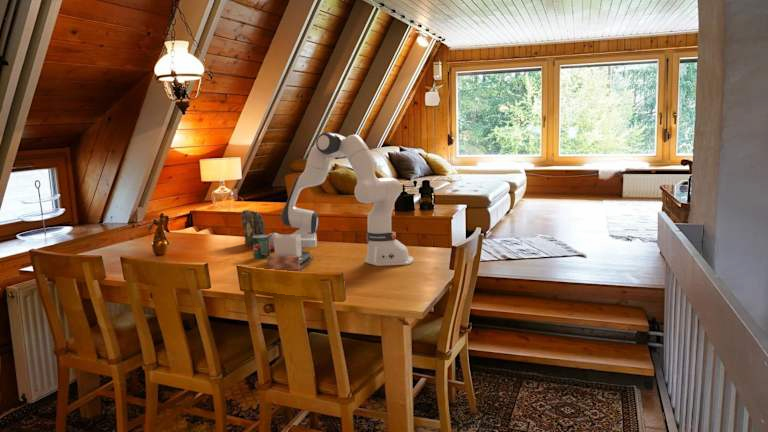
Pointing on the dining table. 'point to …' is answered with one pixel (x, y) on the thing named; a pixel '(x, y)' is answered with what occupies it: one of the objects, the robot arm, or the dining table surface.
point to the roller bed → (287, 263)
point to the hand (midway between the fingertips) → (290, 245)
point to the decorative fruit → (272, 239)
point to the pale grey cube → (288, 245)
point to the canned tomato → (261, 247)
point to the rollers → (304, 257)
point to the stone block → (252, 225)
